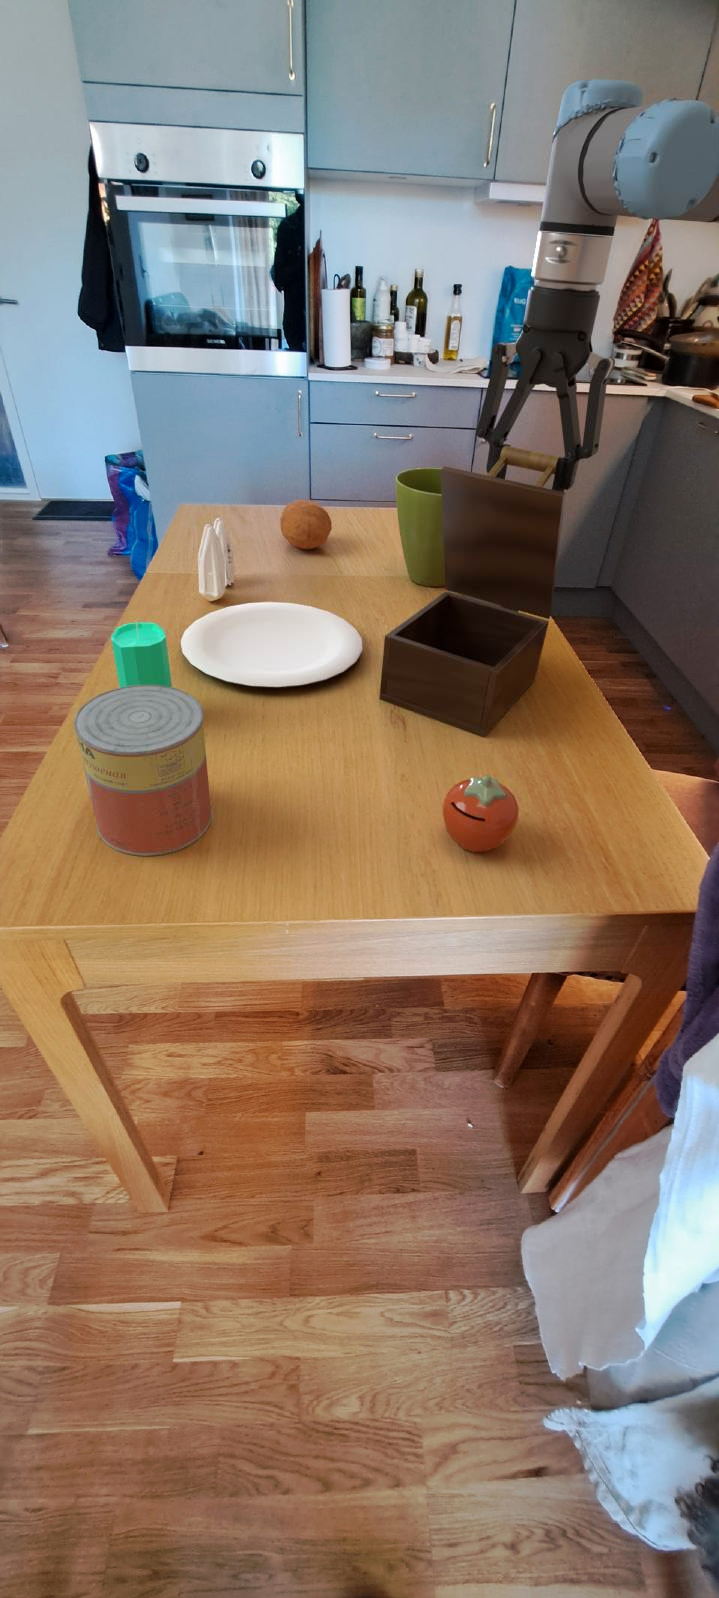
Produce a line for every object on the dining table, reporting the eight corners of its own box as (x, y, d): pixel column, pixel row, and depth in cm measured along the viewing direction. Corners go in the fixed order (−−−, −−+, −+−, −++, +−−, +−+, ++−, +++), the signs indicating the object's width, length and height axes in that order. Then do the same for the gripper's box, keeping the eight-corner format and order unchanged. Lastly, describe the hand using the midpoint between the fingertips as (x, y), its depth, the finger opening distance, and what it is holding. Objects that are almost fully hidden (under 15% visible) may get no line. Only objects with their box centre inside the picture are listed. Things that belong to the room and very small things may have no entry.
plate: (391, 679, 98) (392, 668, 97) (205, 710, 90) (204, 698, 88) (325, 603, 115) (325, 592, 114) (165, 622, 107) (163, 611, 106)
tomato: (423, 840, 73) (432, 776, 68) (464, 806, 78) (476, 744, 73) (485, 876, 70) (500, 812, 65) (525, 838, 74) (541, 775, 69)
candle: (145, 696, 91) (131, 605, 84) (185, 709, 89) (175, 617, 82) (113, 718, 87) (95, 625, 79) (154, 733, 85) (140, 638, 78)
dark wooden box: (485, 737, 88) (497, 672, 83) (379, 699, 94) (384, 635, 88) (534, 681, 100) (549, 620, 94) (437, 649, 105) (445, 590, 100)
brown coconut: (329, 536, 139) (330, 494, 134) (333, 558, 130) (334, 515, 126) (280, 534, 138) (280, 493, 133) (280, 557, 129) (280, 513, 125)
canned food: (108, 782, 78) (88, 683, 70) (216, 783, 79) (208, 685, 71) (85, 856, 69) (59, 752, 61) (207, 855, 70) (196, 753, 62)
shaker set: (222, 608, 112) (218, 535, 105) (195, 606, 112) (189, 533, 105) (237, 577, 121) (234, 509, 114) (212, 575, 121) (207, 507, 114)
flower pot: (408, 555, 133) (417, 461, 123) (486, 573, 129) (502, 477, 119) (373, 583, 123) (379, 483, 113) (456, 603, 118) (471, 501, 108)
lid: (562, 496, 79) (596, 446, 83) (440, 469, 85) (477, 424, 89) (548, 619, 94) (577, 572, 98) (445, 589, 99) (476, 545, 103)
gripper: (465, 277, 79) (438, 498, 93) (651, 297, 71) (591, 534, 86) (492, 275, 84) (463, 485, 98) (669, 294, 76) (609, 518, 91)
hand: (523, 507), depth 92 cm, fingers closed on lid, 7 cm apart
